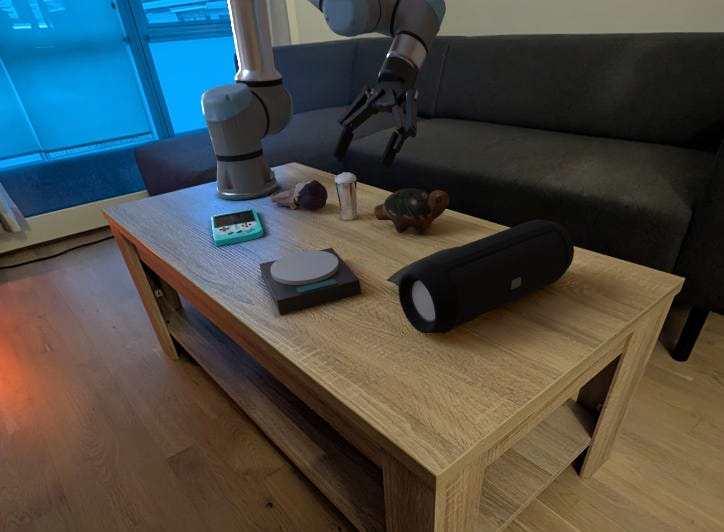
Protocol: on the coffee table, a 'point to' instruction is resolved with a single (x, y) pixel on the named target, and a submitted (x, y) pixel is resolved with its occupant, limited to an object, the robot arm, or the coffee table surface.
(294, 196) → the figurine
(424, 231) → the decorative turtle
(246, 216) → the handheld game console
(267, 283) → the scale
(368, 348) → the coffee table surface
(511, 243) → the portable speaker
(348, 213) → the milkshake
